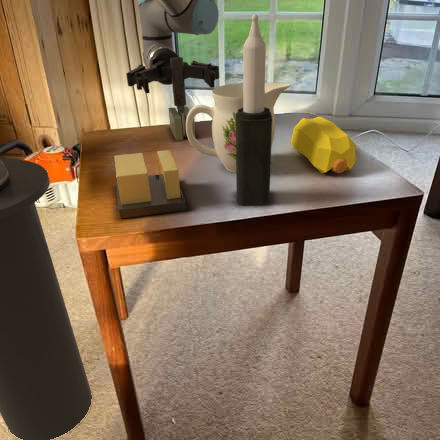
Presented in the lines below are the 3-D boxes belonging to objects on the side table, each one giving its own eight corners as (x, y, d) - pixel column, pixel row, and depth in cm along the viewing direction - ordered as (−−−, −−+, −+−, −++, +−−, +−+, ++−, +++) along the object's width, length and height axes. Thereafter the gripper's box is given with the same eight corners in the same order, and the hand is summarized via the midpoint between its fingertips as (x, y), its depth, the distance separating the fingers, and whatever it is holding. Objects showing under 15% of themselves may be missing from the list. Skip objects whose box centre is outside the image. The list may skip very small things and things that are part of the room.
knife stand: (170, 128, 103) (168, 107, 100) (188, 126, 104) (186, 106, 101) (176, 140, 96) (174, 118, 93) (195, 138, 97) (194, 116, 94)
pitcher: (189, 158, 87) (183, 81, 79) (281, 154, 87) (285, 77, 79) (188, 180, 78) (182, 96, 70) (291, 175, 79) (297, 91, 70)
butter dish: (116, 187, 77) (110, 152, 73) (174, 180, 78) (171, 146, 75) (120, 218, 67) (113, 180, 64) (186, 210, 69) (183, 172, 65)
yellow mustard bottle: (320, 143, 92) (285, 147, 91) (324, 108, 88) (286, 112, 87) (361, 176, 78) (319, 181, 76) (368, 136, 74) (324, 141, 72)
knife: (174, 130, 102) (168, 56, 93) (186, 128, 102) (180, 55, 94) (178, 138, 97) (172, 61, 88) (190, 136, 98) (185, 60, 89)
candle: (269, 205, 70) (276, 15, 55) (236, 205, 70) (234, 17, 55) (267, 191, 74) (274, 11, 59) (236, 192, 74) (234, 13, 59)
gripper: (215, 77, 113) (239, 97, 96) (115, 86, 109) (121, 108, 92) (214, 44, 109) (238, 58, 92) (109, 51, 104) (115, 67, 87)
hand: (180, 83), depth 92 cm, fingers open, 13 cm apart
